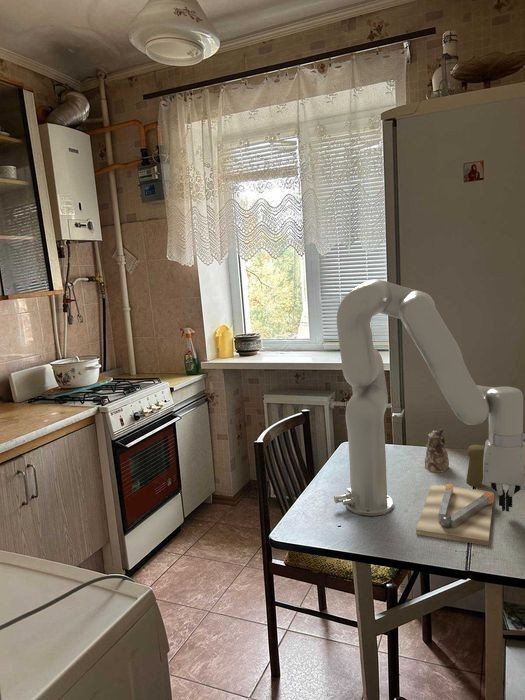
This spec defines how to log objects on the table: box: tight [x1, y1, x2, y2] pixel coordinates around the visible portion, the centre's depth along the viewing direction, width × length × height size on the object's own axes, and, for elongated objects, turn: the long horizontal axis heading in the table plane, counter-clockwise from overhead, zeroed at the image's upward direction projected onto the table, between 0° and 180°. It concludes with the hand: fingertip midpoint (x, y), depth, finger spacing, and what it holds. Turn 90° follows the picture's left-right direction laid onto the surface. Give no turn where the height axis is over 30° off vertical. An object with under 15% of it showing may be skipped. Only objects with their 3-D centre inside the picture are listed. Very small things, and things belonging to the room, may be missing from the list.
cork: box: [465, 444, 487, 488], centre depth 149 cm, size 6×6×11 cm
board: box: [415, 483, 494, 547], centre depth 134 cm, size 26×16×1 cm, turn 154°
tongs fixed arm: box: [438, 483, 454, 522], centre depth 135 cm, size 18×2×2 cm, turn 154°
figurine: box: [424, 428, 450, 473], centre depth 162 cm, size 7×7×12 cm
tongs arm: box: [441, 492, 495, 528], centre depth 131 cm, size 20×3×2 cm, turn 129°
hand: (505, 508), depth 130 cm, fingers closed
